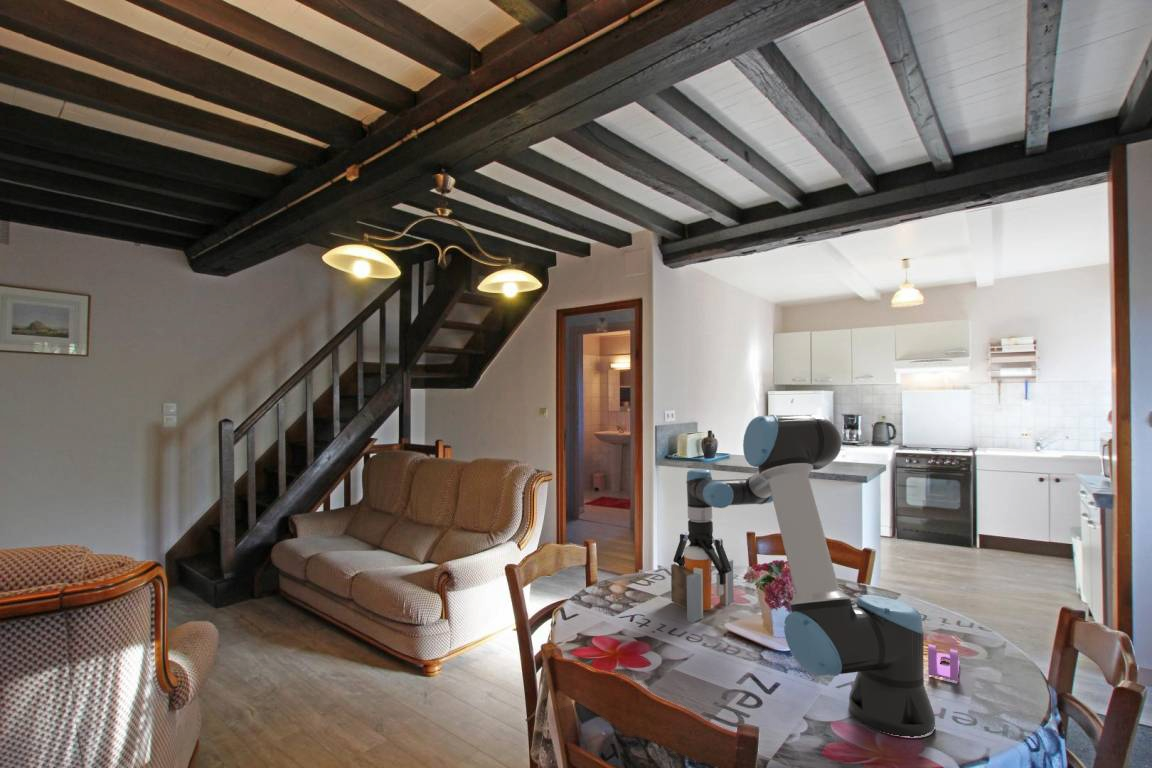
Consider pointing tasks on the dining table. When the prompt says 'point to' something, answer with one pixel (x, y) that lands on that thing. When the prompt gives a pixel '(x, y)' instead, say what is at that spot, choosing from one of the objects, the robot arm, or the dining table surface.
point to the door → (679, 584)
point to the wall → (697, 593)
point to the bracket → (940, 670)
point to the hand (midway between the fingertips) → (702, 590)
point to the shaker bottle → (700, 560)
